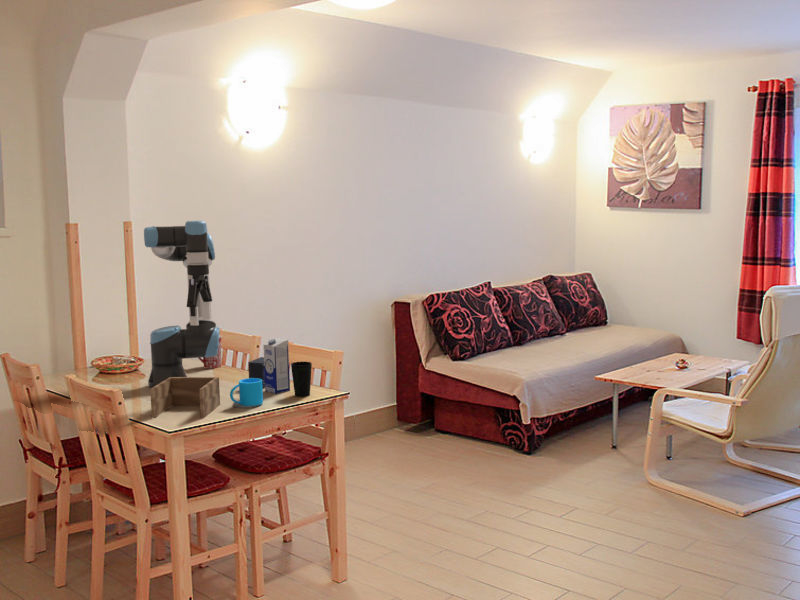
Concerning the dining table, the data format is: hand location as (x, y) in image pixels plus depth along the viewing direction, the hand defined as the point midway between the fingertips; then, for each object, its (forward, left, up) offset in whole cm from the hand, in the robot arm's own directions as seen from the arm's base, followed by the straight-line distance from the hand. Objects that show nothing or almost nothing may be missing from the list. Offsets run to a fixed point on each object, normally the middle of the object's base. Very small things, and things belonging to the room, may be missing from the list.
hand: (200, 322), depth 291 cm
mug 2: (+8, +18, -28) cm, 35 cm away
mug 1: (-57, -17, -29) cm, 66 cm away
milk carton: (-14, +24, -29) cm, 40 cm away
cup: (-7, +35, -29) cm, 46 cm away
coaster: (+7, +18, -29) cm, 35 cm away
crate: (+16, -1, -29) cm, 33 cm away
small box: (-22, +16, -29) cm, 40 cm away
